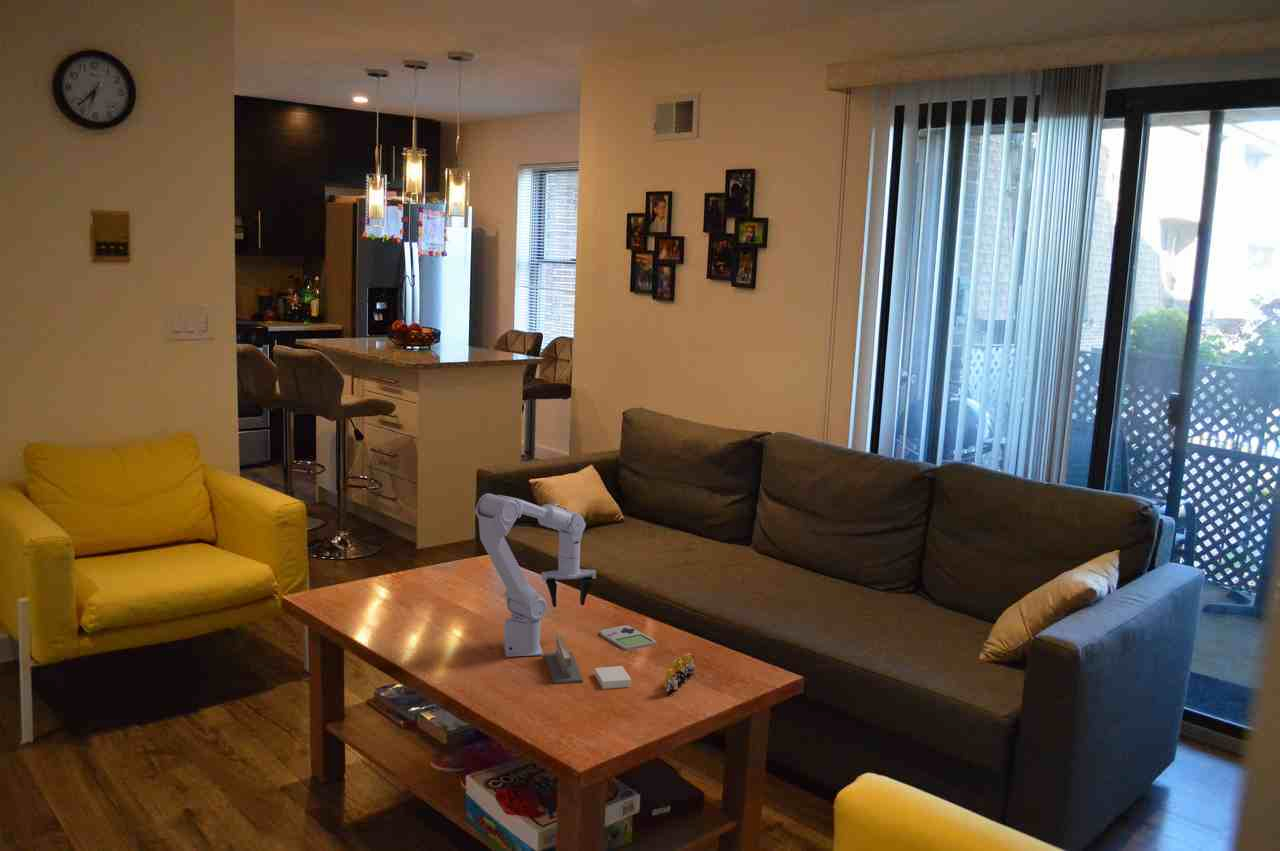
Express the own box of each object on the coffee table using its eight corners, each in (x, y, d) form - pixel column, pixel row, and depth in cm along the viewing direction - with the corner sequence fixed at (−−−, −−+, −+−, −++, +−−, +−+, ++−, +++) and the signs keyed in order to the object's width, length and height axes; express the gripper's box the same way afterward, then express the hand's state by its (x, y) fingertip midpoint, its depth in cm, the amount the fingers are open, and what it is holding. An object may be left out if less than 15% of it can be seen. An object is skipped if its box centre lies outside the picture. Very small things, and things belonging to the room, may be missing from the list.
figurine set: (659, 695, 246) (660, 669, 245) (684, 672, 261) (685, 647, 260) (673, 698, 244) (674, 671, 243) (697, 674, 259) (698, 649, 258)
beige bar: (564, 678, 252) (564, 658, 252) (555, 654, 268) (556, 635, 267) (570, 677, 253) (571, 658, 252) (562, 654, 268) (562, 635, 268)
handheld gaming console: (627, 623, 292) (657, 640, 279) (627, 629, 292) (657, 646, 279) (596, 629, 286) (626, 646, 274) (596, 635, 286) (626, 652, 274)
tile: (594, 676, 257) (602, 690, 248) (594, 668, 257) (602, 681, 248) (622, 674, 259) (631, 688, 250) (622, 666, 258) (631, 679, 250)
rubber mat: (553, 683, 250) (553, 681, 250) (544, 655, 269) (544, 652, 269) (582, 682, 252) (582, 679, 252) (571, 653, 270) (571, 651, 270)
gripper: (545, 561, 272) (544, 611, 274) (599, 558, 276) (597, 608, 278) (540, 554, 279) (539, 602, 281) (593, 551, 283) (591, 600, 285)
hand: (568, 605), depth 280 cm, fingers open, 7 cm apart
